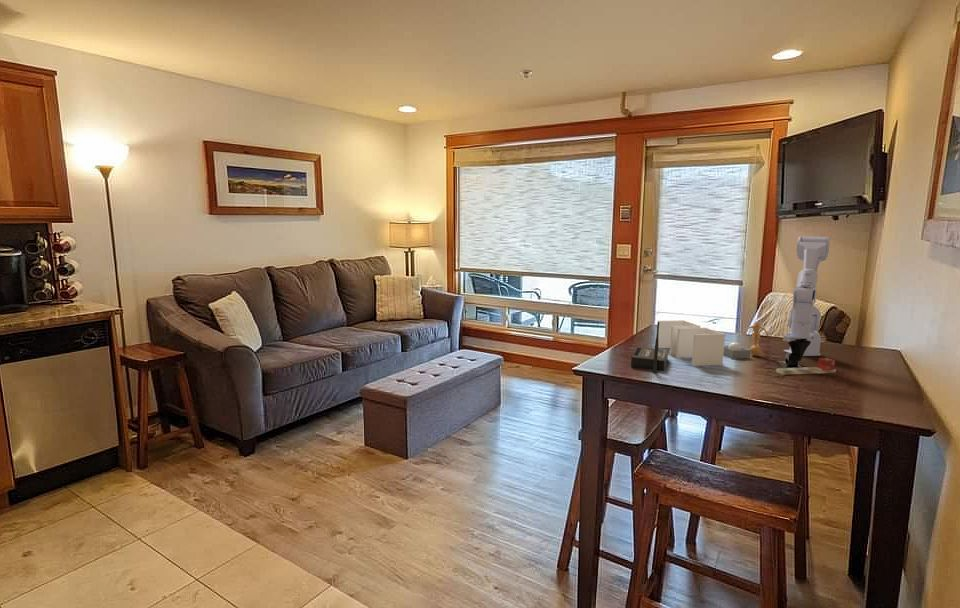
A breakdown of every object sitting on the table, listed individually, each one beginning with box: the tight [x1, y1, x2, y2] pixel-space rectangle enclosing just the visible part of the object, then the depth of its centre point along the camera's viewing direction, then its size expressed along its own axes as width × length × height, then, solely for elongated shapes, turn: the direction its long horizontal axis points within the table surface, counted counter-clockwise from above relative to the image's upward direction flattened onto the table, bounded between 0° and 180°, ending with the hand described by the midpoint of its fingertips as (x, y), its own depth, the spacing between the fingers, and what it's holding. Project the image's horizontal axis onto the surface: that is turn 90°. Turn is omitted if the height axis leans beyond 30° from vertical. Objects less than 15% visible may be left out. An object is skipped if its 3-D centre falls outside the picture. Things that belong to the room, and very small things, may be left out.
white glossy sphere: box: [727, 341, 743, 350], centre depth 186 cm, size 5×5×5 cm
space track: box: [775, 357, 837, 376], centre depth 166 cm, size 20×4×4 cm, turn 100°
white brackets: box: [657, 319, 726, 367], centre depth 184 cm, size 25×11×11 cm, turn 10°
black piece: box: [777, 352, 804, 368], centre depth 174 cm, size 12×7×5 cm, turn 162°
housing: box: [723, 345, 751, 360], centre depth 186 cm, size 7×7×3 cm
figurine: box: [743, 323, 769, 357], centre depth 187 cm, size 8×6×12 cm
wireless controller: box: [630, 321, 669, 374], centre depth 171 cm, size 20×14×17 cm
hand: (796, 360), depth 176 cm, fingers closed
